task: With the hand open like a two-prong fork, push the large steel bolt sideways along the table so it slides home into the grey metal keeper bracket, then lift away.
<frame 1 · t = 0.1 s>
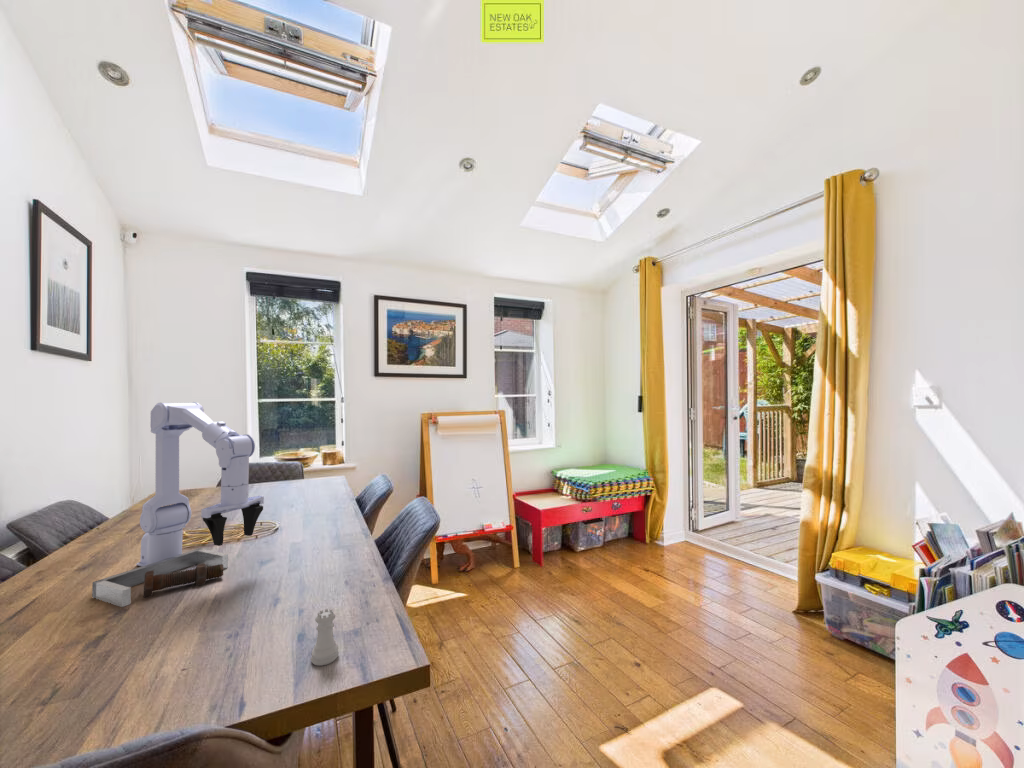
hand: (233, 539, 105), 10 cm above the table, tool pointing down, fingers open, 7 cm apart
keeper: (165, 581, 104), on the table
rook chess piece: (324, 660, 74), on the table
bolt: (185, 588, 102), on the table
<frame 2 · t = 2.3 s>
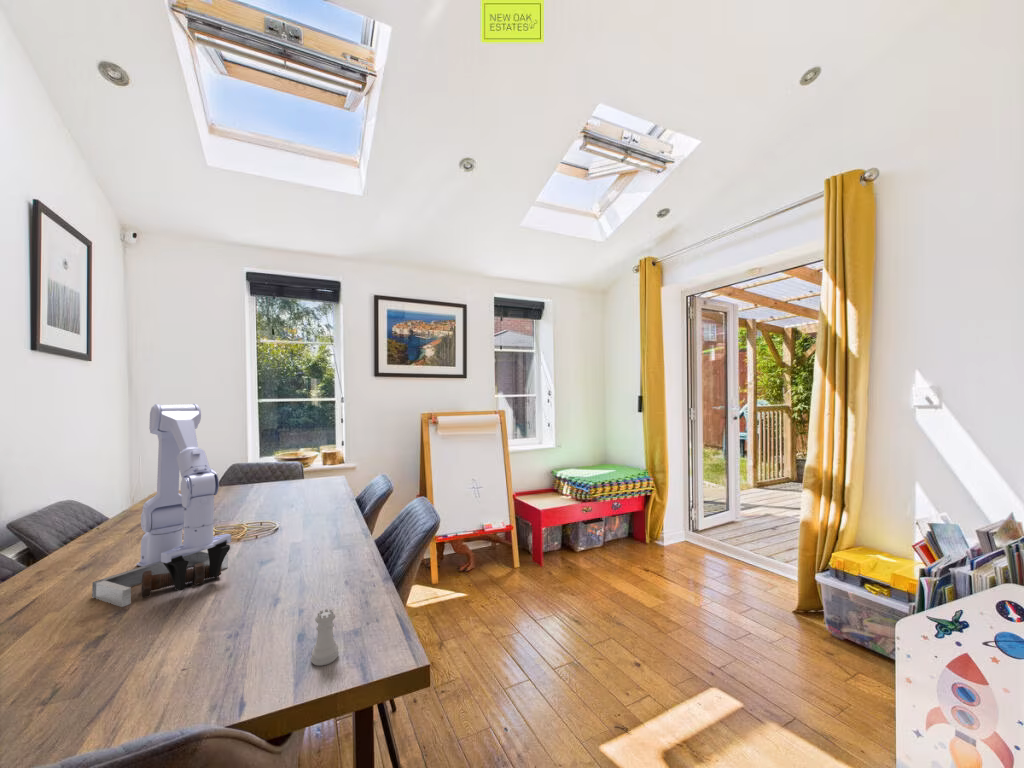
hand: (197, 582, 100), 2 cm above the table, tool pointing down, fingers open, 7 cm apart
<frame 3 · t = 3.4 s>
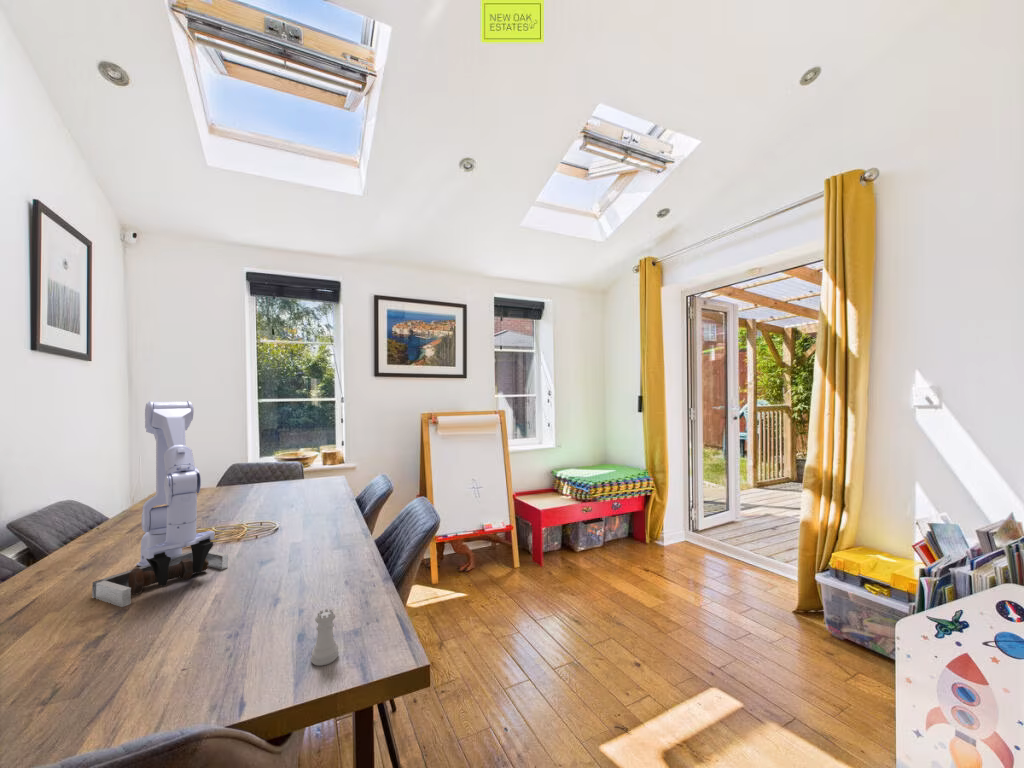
hand: (180, 578, 102), 2 cm above the table, tool pointing down, fingers open, 7 cm apart
bolt: (171, 582, 104), on the table
everything else where it was.
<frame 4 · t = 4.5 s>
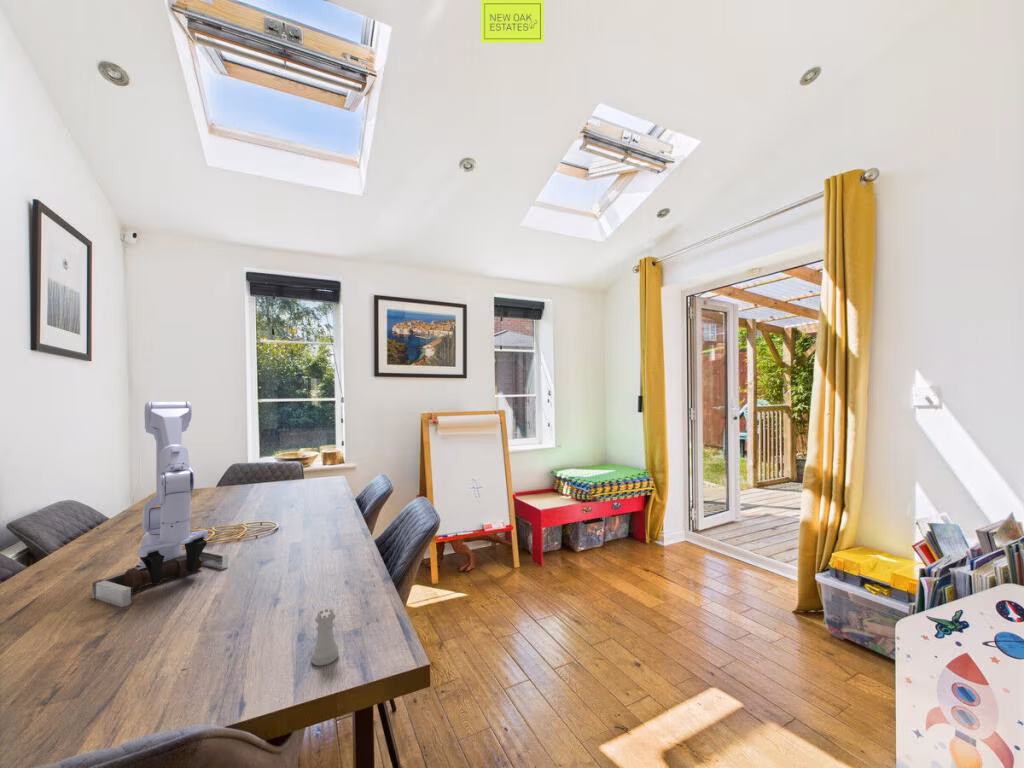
hand: (174, 576, 103), 2 cm above the table, tool pointing down, fingers open, 7 cm apart
bolt: (166, 581, 105), on the table
everything else where it was.
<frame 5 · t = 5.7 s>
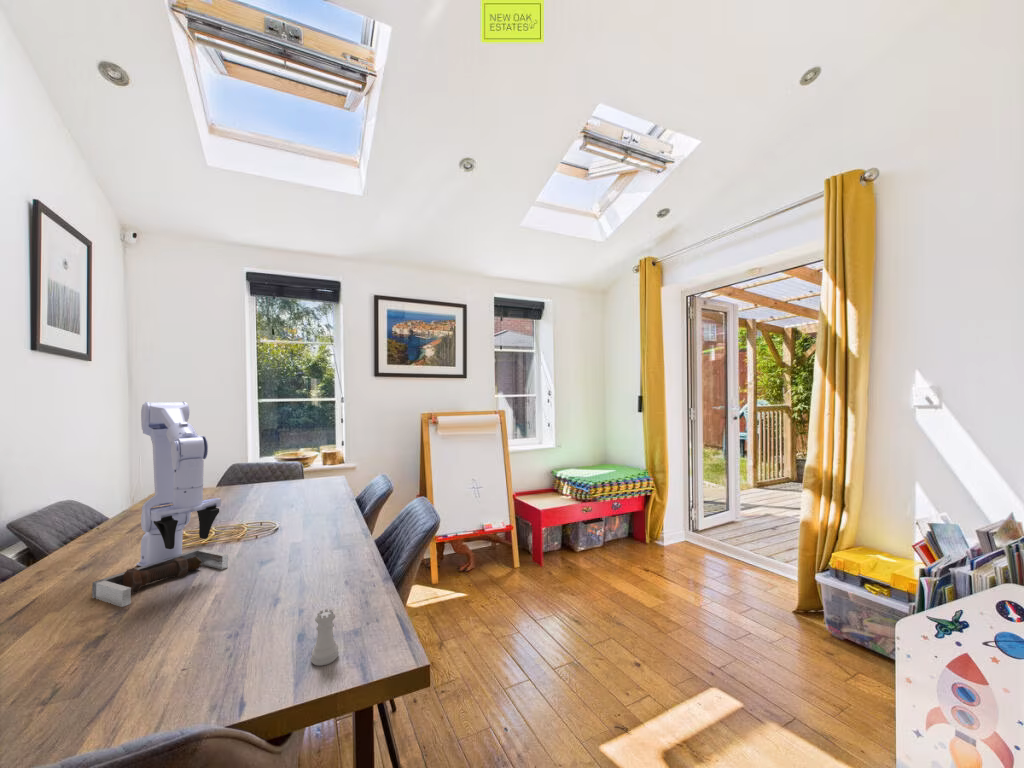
hand: (187, 543, 103), 10 cm above the table, tool pointing down, fingers open, 7 cm apart
nothing on the table moved.
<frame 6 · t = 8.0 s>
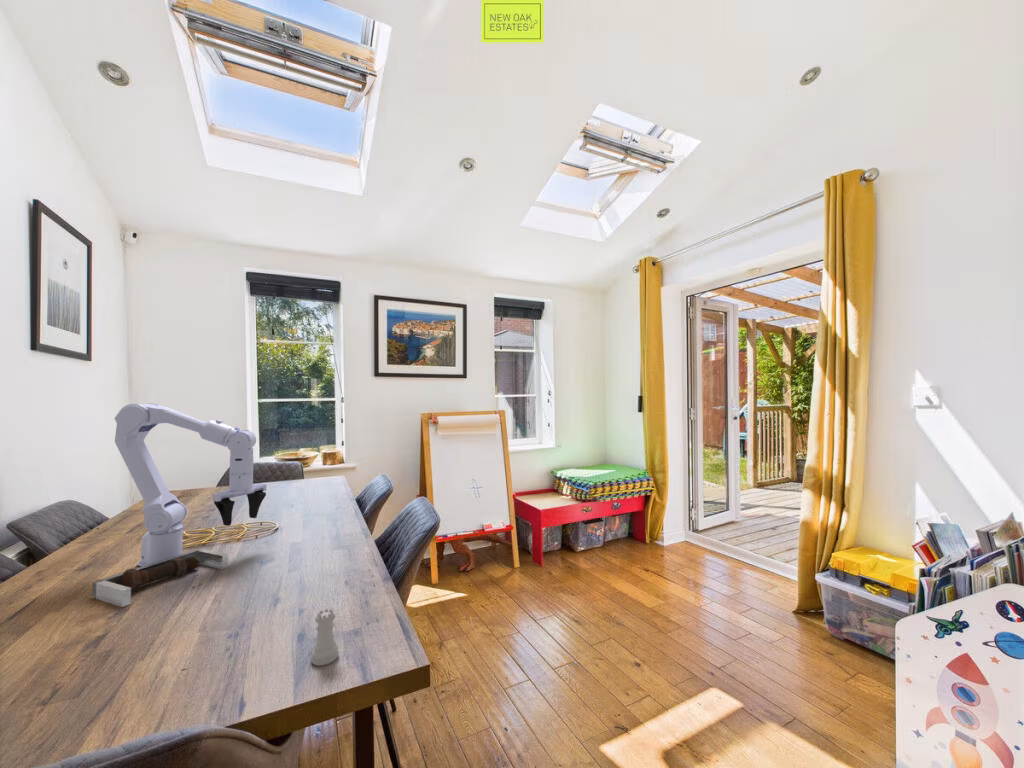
hand: (240, 521, 121), 10 cm above the table, tool pointing down, fingers open, 7 cm apart
nothing on the table moved.
at the end: bolt inside the target area (1.7 cm from its centre), on the table; bolt moved 8.7 cm from its start; the gripper is holding nothing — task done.
